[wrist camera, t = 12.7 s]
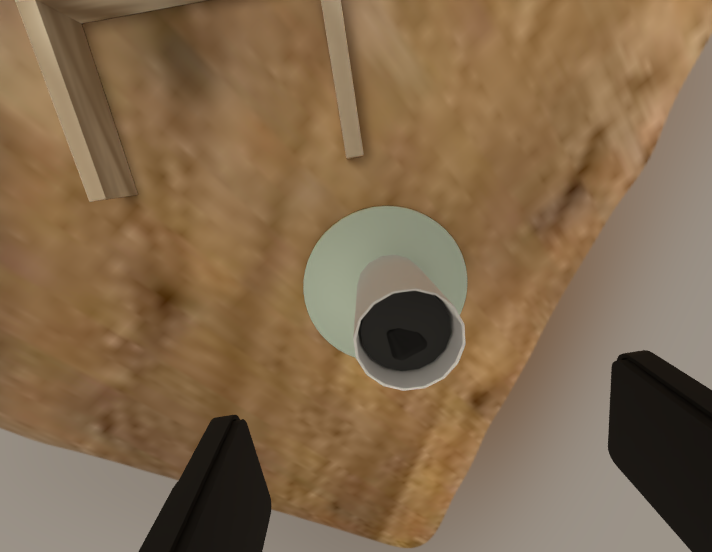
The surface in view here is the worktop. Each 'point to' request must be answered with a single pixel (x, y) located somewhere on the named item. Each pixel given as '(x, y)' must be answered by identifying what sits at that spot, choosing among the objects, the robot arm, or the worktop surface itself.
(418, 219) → the disc
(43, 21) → the frame
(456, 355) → the white coffee cup
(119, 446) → the worktop surface
